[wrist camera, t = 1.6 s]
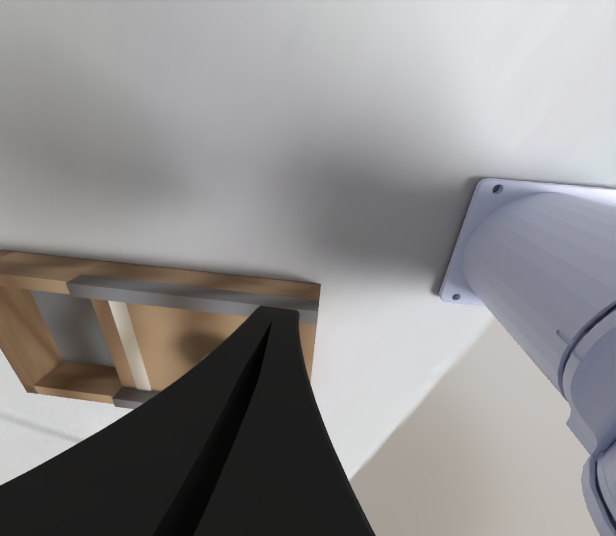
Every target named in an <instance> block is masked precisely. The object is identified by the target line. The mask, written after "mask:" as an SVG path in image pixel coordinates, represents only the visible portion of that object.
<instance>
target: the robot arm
mask: <svg viewBox="0 0 616 536" xmlns="http://www.w3.org/2000/svg"><path fill="white" fill-rule="evenodd" d="M498 184H499V189H498V191H496V192H494V193H493V188H494V186H496V185H498ZM454 294H458V295H457V296H456V297H452V296H453V295H454ZM439 297H440V298H441V300H442V301H444V302H450V303H459V304H469V305H478V306H486V307H487V308H488V309H489V310H490V311H491V313H492V314H493V315H494V316H495V317H496V318H497V320H498V321H499V322H500V323H501V324H502V325H503V327H504V328H505V329H506V330H507V331H508V333H509V334H510V335H511V336H512V337H513V338H514V340H515V341H516V342H517V343H518V344H519V345H520V347H521V348H522V349H523V350H524V351H525V352H526V354H527V355H528V356H529V357H530V358H531V359H532V361H533V362H534V363H535V364H536V365H537V366H538V368H539V369H540V370H541V371H542V372H543V374H544V375H545V376H546V377H547V378H548V379H549V380H550V382H551V383H552V384H553V385H554V386H555V388H556V389H557V390H558V391H559V392H560V393H561V395H562V396H563V397H564V398H565V399H566V400H567V401H568V403H569V405H570V408H571V414H570V417H569V419H568V421H567V423H566V424H567V426H568V427H569V428H570V430H571V431H572V432H573V433H574V435H575V436H576V437H577V438H578V440H579V441H580V442H581V444H582V445H583V446H584V447H585V449H586V450H587V451H588V453H589V454H590V455H591V456H590V457H589V458H588V459H587V461H586V463H585V465H584V467H583V472H582V478H581V481H582V491H583V495H584V498H585V502H586V505H587V509H588V511H589V513H590V516H591V518H592V520H593V522H594V524H595V526H596V528H597V530H598V532H599V534H600V536H616V189H613V188H602V187H590V186H578V185H566V184H555V183H543V182H531V181H519V180H508V179H496V178H484V179H482V180H481V181H480V182H479V183H478V184H477V186H476V188H475V191H474V194H473V197H472V200H471V202H470V205H469V208H468V211H467V214H466V217H465V220H464V223H463V225H462V228H461V231H460V234H459V237H458V240H457V243H456V246H455V248H454V251H453V254H452V257H451V260H450V263H449V266H448V268H447V271H446V274H445V277H444V280H443V283H442V286H441V289H440V291H439ZM299 318H300V313H299V312H298V311H297V310H292V309H285V308H277V307H270V306H262V305H261V306H259V307H258V308H257V309H256V310H255V311H254V312H253V313H252V314H251V315H250V316H249V317H248V318H247V319H246V320H245V321H244V322H243V323H242V324H241V325H240V326H239V327H238V328H237V329H236V330H235V331H234V332H233V333H232V334H231V335H230V336H229V337H228V338H227V339H225V340H224V341H223V342H222V343H221V344H220V345H219V346H218V347H217V348H216V349H214V350H213V351H212V352H211V353H210V354H209V355H207V356H206V357H205V358H204V359H203V360H201V361H200V362H199V363H198V364H197V365H195V366H194V367H193V368H192V369H190V370H189V371H188V372H187V373H185V374H184V375H183V376H181V377H180V378H179V379H177V380H176V381H175V382H173V383H172V384H171V385H169V386H168V387H166V388H165V389H164V390H162V391H161V392H159V393H158V394H157V395H155V396H154V397H152V398H151V399H149V400H148V401H146V402H145V403H143V404H142V405H140V406H139V407H137V408H136V409H134V410H133V411H131V412H130V413H128V414H126V415H125V416H123V417H122V418H120V419H119V420H117V421H115V422H114V423H112V424H110V425H109V426H107V427H106V428H104V429H102V430H100V431H99V432H97V433H95V434H94V435H92V436H90V437H88V438H87V439H85V440H83V441H81V442H80V443H78V444H76V445H74V446H73V447H71V448H69V449H68V450H66V451H64V452H62V453H61V454H59V455H57V456H55V457H53V458H52V459H50V460H48V461H46V462H44V463H43V464H41V465H39V466H37V467H35V468H33V469H31V470H30V471H28V472H26V473H24V474H22V475H20V476H18V477H16V478H14V479H12V480H10V481H8V482H6V483H4V484H2V485H0V536H376V535H375V533H374V531H373V530H372V528H371V526H370V524H369V522H368V520H367V518H366V516H365V514H364V512H363V510H362V508H361V506H360V504H359V502H358V500H357V498H356V496H355V494H354V491H353V490H352V487H351V485H350V483H349V481H348V478H347V476H346V474H345V472H344V469H343V467H342V465H341V463H340V461H339V458H338V456H337V454H336V452H335V449H334V447H333V445H332V443H331V440H330V438H329V435H328V433H327V430H326V427H325V425H324V422H323V420H322V417H321V414H320V412H319V409H318V406H317V403H316V400H315V397H314V394H313V391H312V388H311V384H310V381H309V377H308V374H307V370H306V366H305V362H304V357H303V352H302V347H301V341H300V333H299Z"/></svg>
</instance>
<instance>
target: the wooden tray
mask: <svg viewBox="0 0 616 536" xmlns="http://www.w3.org/2000/svg"><path fill="white" fill-rule="evenodd" d="M320 286H321V284H312V283H303V282H293V281H284V280H275V279H265V278H256V277H247V276H237V275H228V274H219V273H209V272H200V271H191V270H181V269H172V268H163V267H153V266H144V265H135V264H125V263H116V262H107V261H97V260H88V259H79V258H69V257H60V256H51V255H41V254H32V253H23V252H13V251H4V250H2V251H0V348H1V350H2V352H3V353H4V355H5V357H6V358H7V360H8V362H9V363H10V365H11V366H12V368H13V370H14V371H15V373H16V375H17V376H18V378H19V380H20V381H21V383H22V385H23V386H24V388H25V389H26V391H27V392H28V393H36V394H43V395H51V396H58V397H66V398H73V399H81V400H88V401H96V402H103V403H111V404H114V405H115V407H123V408H130V409H136V408H137V407H139V406H140V405H142V404H143V403H145V402H146V401H148V400H149V399H151V398H152V397H154V396H155V395H157V394H158V393H159V392H161V391H162V390H164V389H165V388H166V387H168V386H169V385H171V384H172V383H173V382H175V381H176V380H177V379H179V378H180V377H181V376H183V375H184V374H185V373H187V372H188V371H189V370H190V369H192V368H193V367H194V366H195V365H197V364H198V363H199V362H200V361H201V360H202V359H203V358H204V357H205V356H207V355H208V354H210V353H211V352H212V351H213V350H214V349H216V348H217V347H218V346H219V345H220V344H221V343H222V342H223V341H224V340H225V339H227V338H228V337H229V336H230V335H231V334H232V333H233V332H234V331H235V330H236V329H237V328H238V327H239V326H240V325H241V324H242V323H243V322H244V321H245V320H246V319H247V318H248V317H249V316H250V315H251V314H252V313H253V312H254V311H255V310H256V309H257V308H258V307H259V306H261V305H262V306H270V307H277V308H285V309H292V310H297V311H298V312H299V313H300V318H299V333H300V341H301V347H302V352H303V357H304V362H305V366H306V370H307V374H308V377H309V381H311V372H312V362H313V353H314V344H315V334H316V325H317V317H318V307H319V297H320Z"/></svg>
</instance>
